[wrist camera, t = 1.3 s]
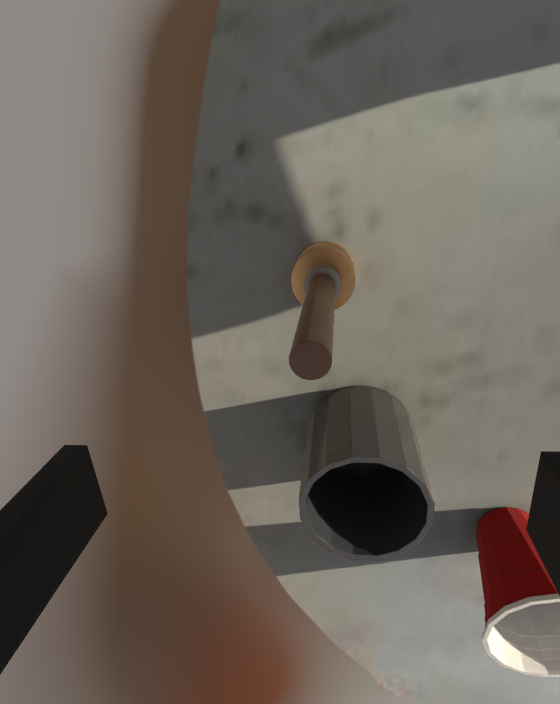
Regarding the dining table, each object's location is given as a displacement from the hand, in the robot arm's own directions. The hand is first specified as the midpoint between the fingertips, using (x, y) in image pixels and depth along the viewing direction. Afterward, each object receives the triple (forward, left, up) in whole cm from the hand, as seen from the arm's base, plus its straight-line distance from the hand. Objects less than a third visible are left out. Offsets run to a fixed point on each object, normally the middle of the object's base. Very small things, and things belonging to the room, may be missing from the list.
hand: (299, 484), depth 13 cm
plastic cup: (-18, +28, -27) cm, 42 cm away
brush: (0, 0, -27) cm, 27 cm away
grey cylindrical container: (-3, +16, -27) cm, 31 cm away
